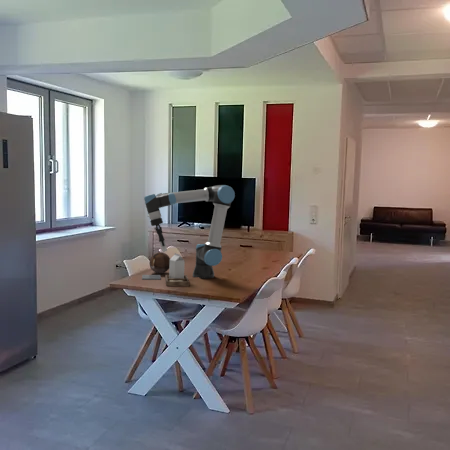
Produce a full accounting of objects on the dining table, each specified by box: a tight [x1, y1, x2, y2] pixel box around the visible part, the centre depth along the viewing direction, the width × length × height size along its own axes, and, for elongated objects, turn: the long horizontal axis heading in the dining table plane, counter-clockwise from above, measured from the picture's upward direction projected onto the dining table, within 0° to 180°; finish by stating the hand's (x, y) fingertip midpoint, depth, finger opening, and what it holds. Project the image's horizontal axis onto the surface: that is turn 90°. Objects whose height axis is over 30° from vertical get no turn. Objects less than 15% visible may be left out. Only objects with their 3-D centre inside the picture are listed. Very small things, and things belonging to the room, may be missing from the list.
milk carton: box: [168, 252, 185, 278], centre depth 306 cm, size 7×7×19 cm
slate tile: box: [141, 274, 162, 281], centre depth 314 cm, size 12×12×2 cm
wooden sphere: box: [149, 251, 171, 274], centre depth 337 cm, size 15×15×15 cm
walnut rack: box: [164, 274, 190, 287], centre depth 302 cm, size 14×21×4 cm, turn 9°
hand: (164, 251), depth 300 cm, fingers open, 13 cm apart
